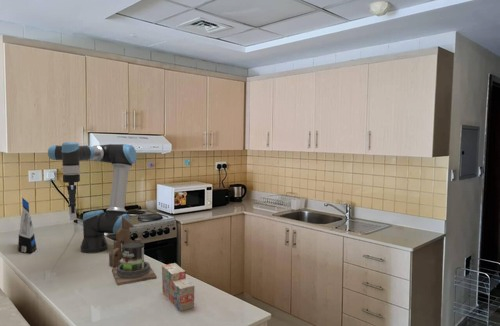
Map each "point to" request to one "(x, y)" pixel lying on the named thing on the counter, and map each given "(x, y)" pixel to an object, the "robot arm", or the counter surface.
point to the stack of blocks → (177, 287)
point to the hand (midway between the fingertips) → (72, 217)
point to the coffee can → (133, 256)
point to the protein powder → (26, 231)
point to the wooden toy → (123, 236)
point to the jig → (133, 274)
